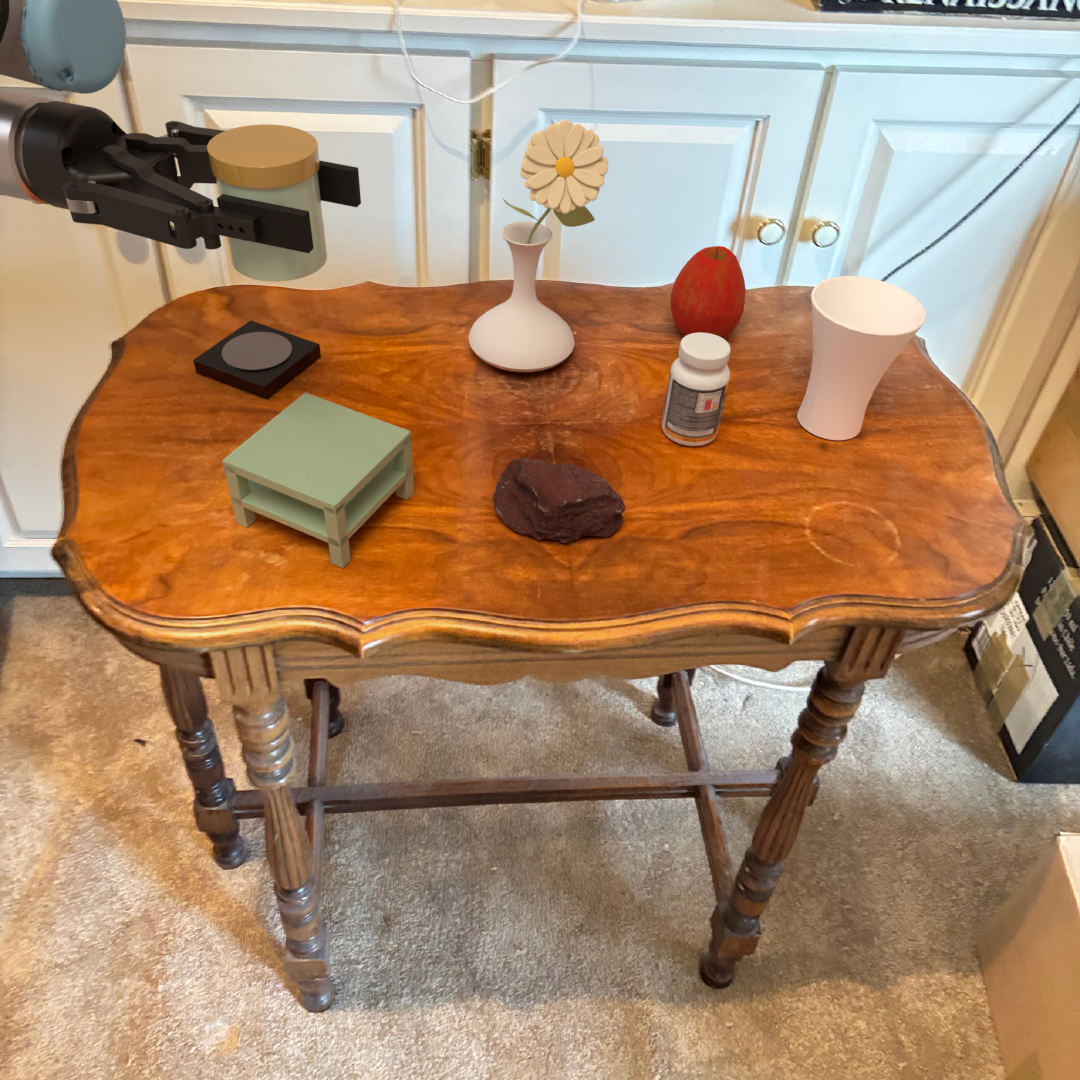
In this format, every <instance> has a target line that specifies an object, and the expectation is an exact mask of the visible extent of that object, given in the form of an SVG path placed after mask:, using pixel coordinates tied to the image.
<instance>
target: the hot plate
mask: <svg viewBox="0 0 1080 1080" xmlns="http://www.w3.org/2000/svg"><path fill="white" fill-rule="evenodd" d="M321 357H322V352H321V345H320V343H318V342H315V341H313V340H312V341H311V340H309V339H306V338H303V337H300V336H297V335H295V334H292V333H289V332H286V331H283V330H280V329H277V328H274V327H271V326H269V325H266V324H263V323H260V322H257V321H254V320H252V319H250V320H249V321H247V322H245V323H244V324H243V325H242V326H240V327H239V328H237V329H236V330H234V331H233V332H231V333H229V334H228V335H227V336H225V337H224V338H223V339H221V340H220V341H218V342H216V343H215V344H214V345H212V346H211V347H209V348H208V349H207V350H205V351H204V352H202V353H201V354H200V355H198V356H196V357H195V358H194V359H192V362H193V366H194V371H195V373H196V374H198V375H201V376H203V377H206V378H208V379H210V380H214V381H216V382H218V383H222V384H224V385H227V386H229V387H232V388H234V389H237V390H240V391H243V392H245V393H248V394H251V395H253V396H255V397H258V398H262V399H264V400H269V399H270V398H271V397H272V396H274V395H275V394H276V393H277V392H280V390H282V389H283V388H284V387H286V386H287V385H288V383H290V382H291V381H293V380H294V379H295V378H296V377H298V376H299V375H300V374H302V373H303V372H304V371H305V370H306V369H308V368H310V367H311V366H312V365H313V364H314V363H316V362H317V361H318V360H319V359H321Z"/></svg>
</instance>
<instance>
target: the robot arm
mask: <svg viewBox="0 0 1080 1080" xmlns="http://www.w3.org/2000/svg"><path fill="white" fill-rule="evenodd" d="M126 40H127V28H126V23H125V18H124V15H123V11H122V8H121V5H120V3H119V1H118V0H0V76H5V77H8V78H12V79H16V80H19V81H23V82H27V83H30V84H33V85H38V86H41V87H43V88H46V89H48V90H51V91H57V92H62V91H65V92H70V93H74V94H75V93H76V94H81V95H83V94H84V95H87V94H93V93H94V94H95V93H97V92H99V91H101V90H103V89H105V88H106V87H108V86H109V85H110V84H111V83H113V81H114V80H115V78H116V77H117V76H118V75H119V72H120V70H121V69H122V66H123V63H124V60H125V56H126V54H125V49H126V46H127V45H126ZM164 125H165V130H166V134H164V135H161V136H154V135H152V134H149V133H145V132H129V133H127V132H126V131H124V130H123V129H122V128H121V127H120V125H118V124H117V123H116V122H115V120H114V119H113V118H112V117H111V116H110V115H109V114H108V113H106V112H105V111H103V110H101V109H99V108H97V107H93V106H87V105H82V104H77V103H71V102H66V101H61V100H54V99H51V98H47V97H44V96H37V95H32V94H25V93H20V92H15V91H14V92H13V91H7V90H1V89H0V196H7V197H11V198H15V199H19V200H24V201H28V202H32V203H33V204H34V205H49V206H52V207H55V208H58V209H63V210H69V213H70V216H71V220H72V221H73V223H77V224H87V225H98V226H99V225H100V226H104V227H107V228H111V229H114V230H118V231H122V232H125V233H128V234H132V235H135V236H139V237H142V238H146V239H149V240H152V241H156V242H159V243H163V244H166V245H170V246H172V247H176V248H180V249H184V250H191V249H193V248H196V247H197V245H198V243H197V241H198V240H197V239H200V238H202V239H203V243H204V248H205V250H217V249H220V248H221V247H222V240H221V236H222V237H226V238H227V237H231V238H235V239H241V240H245V241H251V242H256V243H261V244H266V245H270V246H275V247H280V248H285V249H290V250H295V251H300V252H304V253H310V252H311V251H312V250H313V249H314V247H313V239H312V231H311V222H310V214H309V211H306V210H301V209H296V208H291V207H286V206H281V205H275V204H270V203H265V202H260V201H255V200H250V199H245V198H240V197H235V196H230V195H225V194H222V195H221V196H219V195H218V197H216V201H217V206H215V204H214V200H213V199H211V198H209V197H208V196H206V195H203V194H201V193H200V192H197V191H195V190H194V189H193V190H192V187H193V186H194V184H213V185H214V184H215V185H217V182H216V177H215V176H214V175H213V173H212V171H211V167H210V162H209V156H208V151H207V145H208V143H209V141H210V140H211V139H212V138H213V137H215V136H216V135H218V134H220V133H222V132H224V131H225V129H224V130H223V129H216V128H207V127H201V126H200V127H199V126H195V125H192V124H188V123H185V122H181V121H179V120H171V121H167V122H165V124H164ZM176 161H177V163H176ZM319 161H320V167H319V170H318V178H319V187H320V196H321V202H327V203H332V204H337V205H343V206H347V207H353V208H359V206H360V205H361V204H362V199H361V197H362V196H361V187H360V186H361V185H360V174H359V167H357V166H351V165H347V164H341V163H335V162H330V161H325V160H320V159H319ZM177 166H178V167H177ZM178 170H179V171H178ZM178 172H179V175H178ZM171 223H172V224H173V227H174V228H172V225H171Z"/></svg>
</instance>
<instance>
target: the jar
mask: <svg viewBox="0 0 1080 1080" xmlns="http://www.w3.org/2000/svg"><path fill="white" fill-rule="evenodd" d="M207 151H208V156H209V162H210V167H211V171H212V173H213V175H214V176H215V177H216V182H217V184H216V186H217V188H216V189H217V193H218V197H219V196H221V195H222V194H225V195H230V196H235V197H240V198H245V199H250V200H255V201H260V202H265V203H270V204H275V205H281V206H286V207H291V208H296V209H301V210H306V211H309V214H310V222H311V231H312V239H313V247H314V249H313V250H312V251H311V252H310V253H304V252H300V251H295V250H290V249H285V248H280V247H275V246H270V245H266V244H261V243H256V242H251V241H245V240H241V239H235V238H231V237H226V240H227V245H228V250H229V255H230V261H231V264H232V267H233V269H235V271H237V272H238V273H239V274H241V275H242V276H244V277H247V278H250V279H252V280H256V281H264V282H288V281H294V280H299V279H303V278H305V277H309V276H311V275H313V274H314V273H316V272H319V270H320V269H322V268H323V267H324V265H325V264H326V263H327V260H328V251H327V242H326V241H327V240H326V232H325V224H324V215H323V207H322V206H323V205H322V201H321V196H320V187H319V178H318V170H319V167H320V161H321V160H320V153H319V144H318V141H317V139H316V138H315V136H313V135H312V133H309V132H308V131H305V130H303V129H300V128H297V127H293V126H288V125H281V124H251V125H250V124H249V125H244V126H239V127H233V128H230V129H227V130H224V132H222V133H220V134H218V135H216V136H215V137H213V138H212V139H211V140H210V141H209V143H208V145H207ZM319 160H320V161H319Z"/></svg>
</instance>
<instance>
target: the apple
mask: <svg viewBox="0 0 1080 1080" xmlns="http://www.w3.org/2000/svg"><path fill="white" fill-rule="evenodd" d="M741 267H742V266H741V264H740V263H739V260H738V258H737V256H736V255H735V253H733V252H732V251H731V249H730V248H728V247H726V246H723V245H715V246H707V247H703V248H702V249H700V250H698V251H697V252H696V253H695V254H693V255H692V256H691V258H689V260H687V262H685V264H684V265H683V267H682V268H681V270H680V271H679V273H678V274H677V276H676V278H675V280H674V283H673V287H672V290H671V293H670V309H671V316H672V319H673V321H674V324H675V326H676V328H677V330H679V332H680V333H681V334H682V335H683V336H684V337H685V336H687V335H689V334H692V333H710V334H714V335H717V336H719V337H721V338H723V339H724V340H725V338H727V337H728V336H729V335H730V334H731V333H732V332H733V331H734V329H735V328H736V327H737V326H738V324H739V322H740V320H741V319H742V316H743V314H744V309H745V302H746V295H747V294H746V293H747V288H746V283H745V281H746V280H745V277H744V274H743V270H742V268H741Z"/></svg>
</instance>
